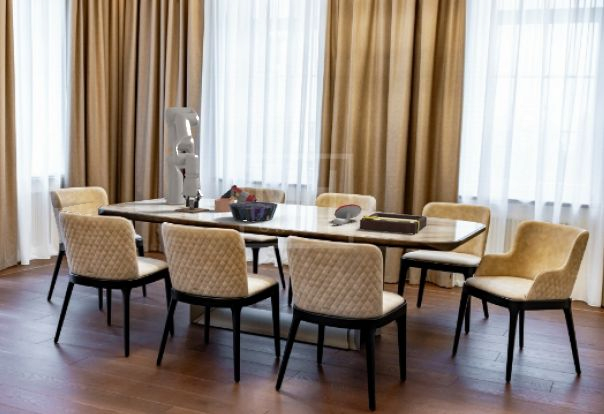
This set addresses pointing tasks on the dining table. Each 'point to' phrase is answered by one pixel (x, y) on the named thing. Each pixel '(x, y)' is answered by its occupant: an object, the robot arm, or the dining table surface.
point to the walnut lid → (192, 208)
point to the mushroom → (346, 213)
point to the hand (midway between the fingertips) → (192, 207)
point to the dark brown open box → (393, 222)
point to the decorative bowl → (253, 210)
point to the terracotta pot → (223, 205)
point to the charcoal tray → (191, 213)
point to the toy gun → (242, 197)
